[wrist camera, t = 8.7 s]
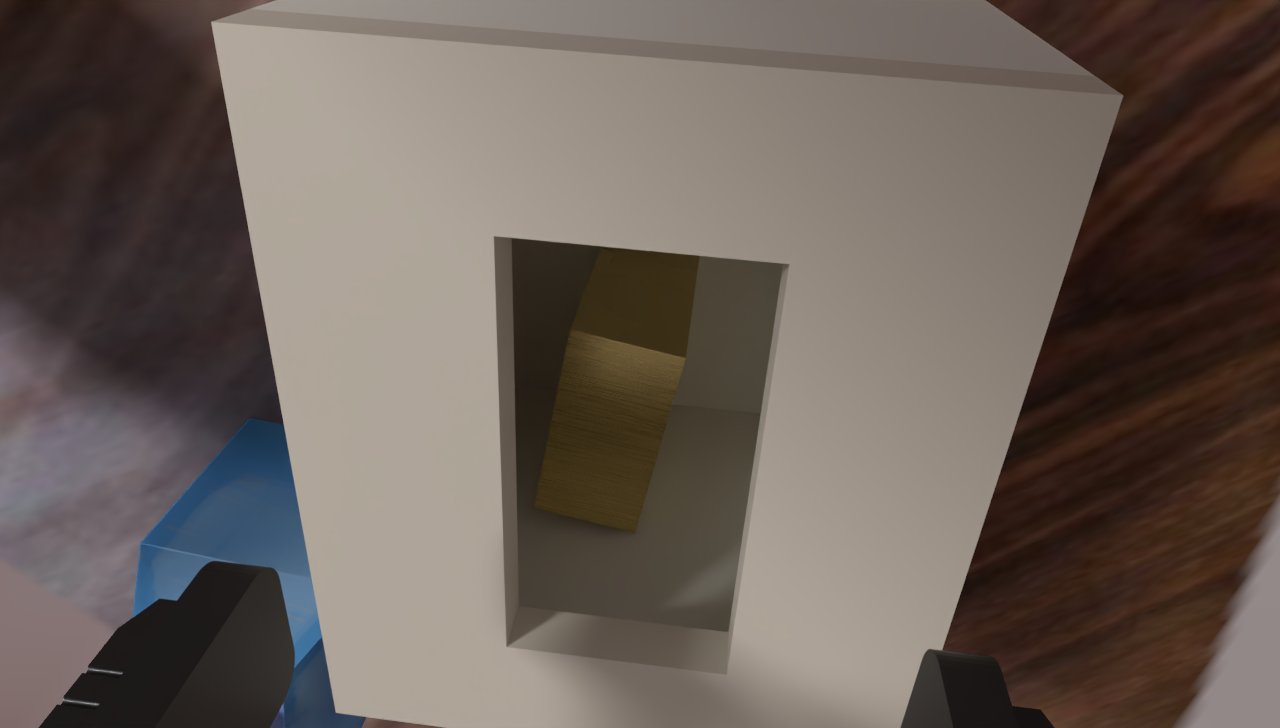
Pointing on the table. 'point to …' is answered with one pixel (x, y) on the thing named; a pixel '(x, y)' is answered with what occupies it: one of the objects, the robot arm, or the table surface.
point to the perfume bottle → (248, 555)
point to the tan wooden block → (617, 386)
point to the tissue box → (717, 345)
